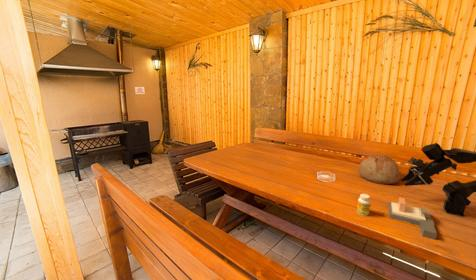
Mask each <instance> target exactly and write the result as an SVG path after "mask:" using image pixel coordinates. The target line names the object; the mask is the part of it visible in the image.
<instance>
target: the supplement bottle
mask: <svg viewBox="0 0 476 280" xmlns="http://www.w3.org/2000/svg"><path fill="white" fill-rule="evenodd" d="M370 197H371V196H370V195H368V194H367V193H360V195H359V198H358V199H357V205H356V212H357V214H359V215H361V216H364V217H365V216H369V214H370V210H371V202H372V201H371V200H370Z"/></svg>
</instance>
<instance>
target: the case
mask: <svg viewBox="0 0 476 280" xmlns="http://www.w3.org/2000/svg"><path fill="white" fill-rule="evenodd" d="M387 208H388V218H390V219H393V220H397V221H401V222H405V223H408V224H413V225H416V226H419V230H420V233H421V236H422V237H424V238H427V239H432V240H436V238H437V231H436V228H435V227H436V224H435V222H434V219H433V217H432V215H431V214H430V217H425V219H426V221H424V220H416V219H412V218H408V217H404V216H400V215H396V214H392V207H391V202H388V205H387Z"/></svg>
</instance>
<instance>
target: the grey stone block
mask: <svg viewBox="0 0 476 280" xmlns="http://www.w3.org/2000/svg"><path fill="white" fill-rule="evenodd" d="M418 208H419V212H420V215H421V216H425V217H430V215H431V212H430V210H429V208H428V207H425V206H420V205H419V207H418Z"/></svg>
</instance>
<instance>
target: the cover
mask: <svg viewBox="0 0 476 280" xmlns="http://www.w3.org/2000/svg"><path fill="white" fill-rule="evenodd" d="M390 203H391V207H392V214H396V215H400V216H404V217H408V218H412V219H416V220H424V221H426V219H425V216H421V215H420V212H419V207H415V206H410V205H407V203H406V199H405V198H404V197H399V198H398V202H393V201H392V202H390Z"/></svg>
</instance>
